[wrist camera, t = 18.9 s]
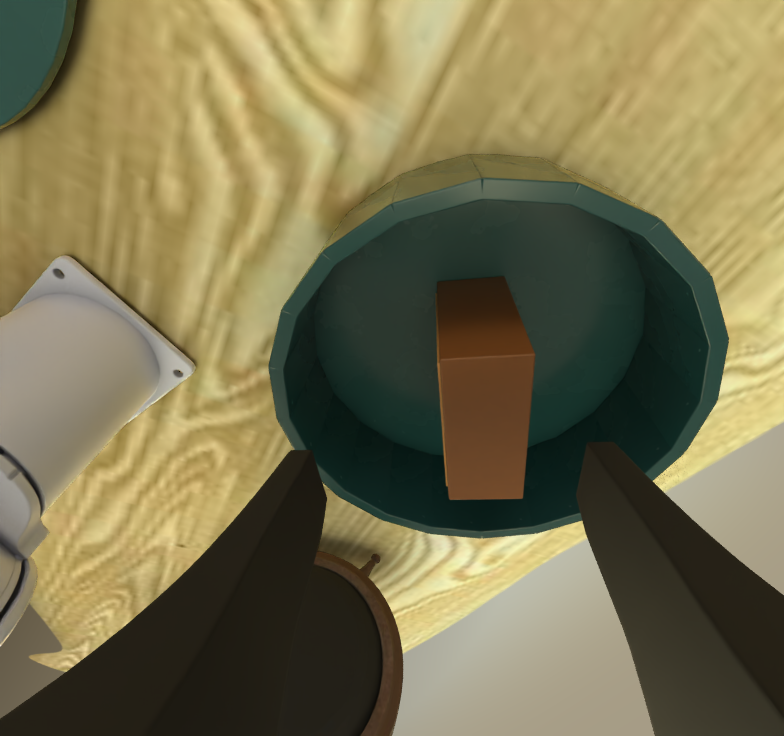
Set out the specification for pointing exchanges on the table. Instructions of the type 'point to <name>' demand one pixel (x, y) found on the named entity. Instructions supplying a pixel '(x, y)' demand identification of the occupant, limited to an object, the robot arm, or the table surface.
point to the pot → (541, 321)
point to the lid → (31, 51)
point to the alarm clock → (343, 656)
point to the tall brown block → (483, 388)
